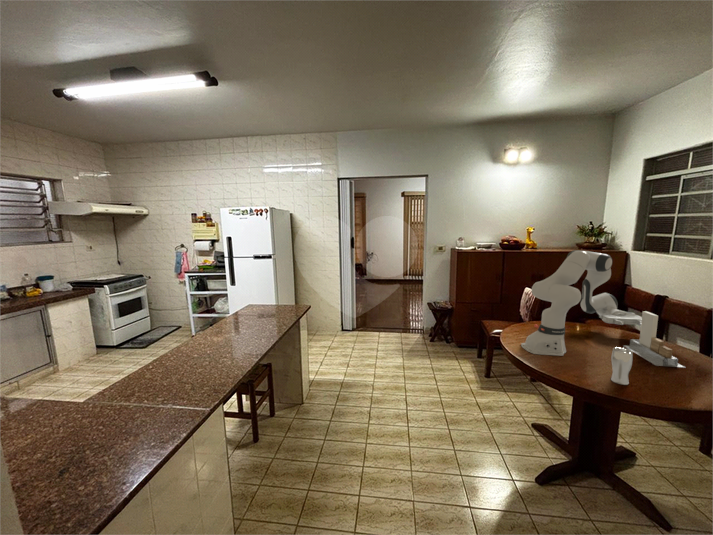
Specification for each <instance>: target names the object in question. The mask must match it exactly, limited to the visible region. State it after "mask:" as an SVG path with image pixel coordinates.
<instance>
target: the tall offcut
mask: <svg viewBox="0 0 713 535" xmlns="http://www.w3.org/2000/svg"><path fill="white" fill-rule="evenodd" d="M660 346H665V341H664V340H663V339H660V338H657V337H656V338H652V342H651V349H652V350H653V351H655V352H657V353H659V347H660Z"/></svg>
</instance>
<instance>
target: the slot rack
mask: <svg viewBox="0 0 713 535" xmlns="http://www.w3.org/2000/svg"><path fill="white" fill-rule="evenodd" d="M639 340H640V339H634V338H632V339H631V338H630V339H629V345H622V346H623V348H625V349H628V350H630V351H632V352H633V353H634V354H636V355H638V356H639V357H641V358H642V359H644V360H646V361H648V362H649V363H651V364H652V365H654V366H656V367H659V366H660V367H670V368H671V367H673V368H683V369H684V368H685V369H686V366H685V365H682V364H680V363H679V358H677V357H675V356H673V355H672V358H666V357H664V356H663V355H661V354H659V353H657V352H655V351H653V350H652V349H650V348H648V347H646V346H644V345H642V344H640V343H639Z"/></svg>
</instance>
